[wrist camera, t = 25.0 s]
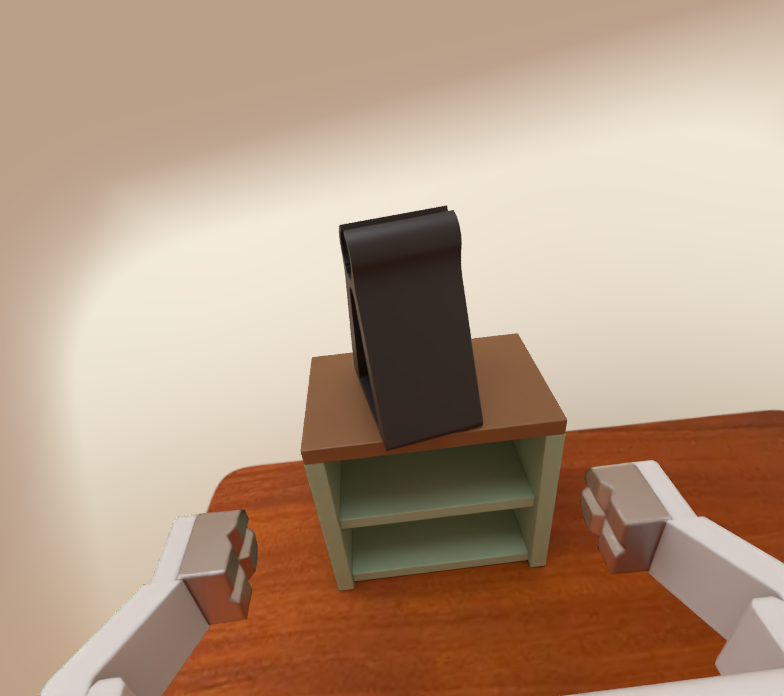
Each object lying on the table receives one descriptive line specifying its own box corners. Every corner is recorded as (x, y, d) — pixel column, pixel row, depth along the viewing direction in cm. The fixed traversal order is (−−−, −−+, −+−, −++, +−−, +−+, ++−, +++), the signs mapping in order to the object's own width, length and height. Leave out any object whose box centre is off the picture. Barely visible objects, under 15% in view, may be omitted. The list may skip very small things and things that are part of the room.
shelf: (338, 591, 36) (300, 451, 28) (340, 487, 45) (311, 356, 36) (545, 565, 36) (567, 419, 28) (509, 467, 45) (518, 332, 37)
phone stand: (483, 428, 28) (487, 234, 22) (386, 454, 27) (359, 258, 21) (432, 350, 36) (423, 188, 29) (354, 368, 35) (327, 204, 28)
